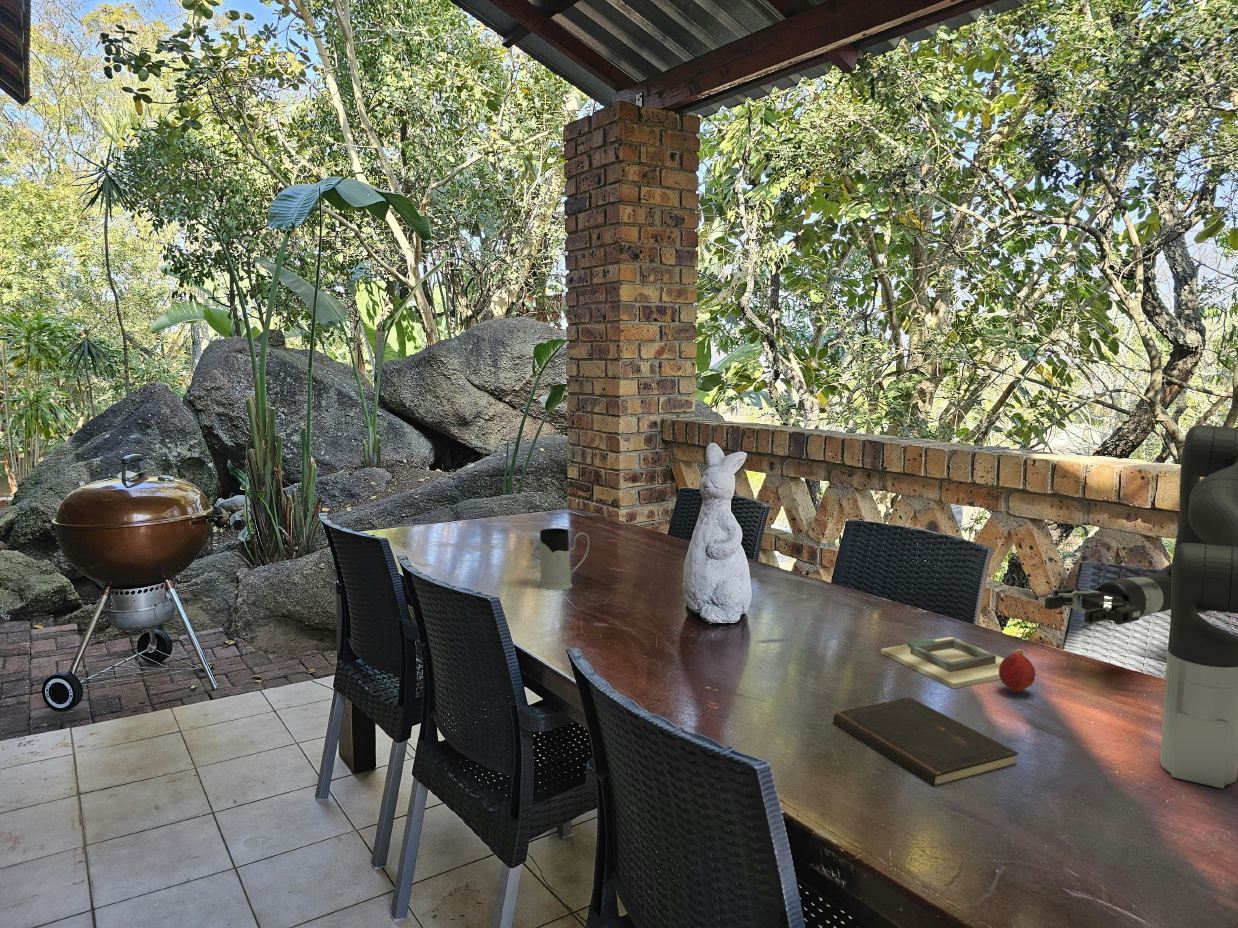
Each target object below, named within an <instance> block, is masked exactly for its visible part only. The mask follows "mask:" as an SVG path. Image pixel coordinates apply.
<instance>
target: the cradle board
mask: <svg viewBox="0 0 1238 928" xmlns="http://www.w3.org/2000/svg"><path fill="white" fill-rule="evenodd" d="M880 654H881V655H884V656H885V657H887V658H889V659H891V660H893V661H895V662H898V663H900V664H902V665H903V666H906V667H907V668H910V669H912V670H914V671H916V672H918V673H920V674H922V675H925V676H927V677H929V678H930V679H933V680H934V681H937V682H938V683H941V684H943V685H945V686H947V687H949V688H950V689H958V688H965V687H968V686H974V685H978V684H983V683H987V682H988V683H989V682H993V681H998V680H1001V678H1000V676H999V667H1000V664H1001V663H1002V661H1003V660H1004V659H1005V658H1004V657H1001V656H999V655H996V654H993V653H991V652H988V651H987V650H984V649H982V648H979V647H977V646H974V645H972V644H970V643H968V642H964V641H962V640H960V639H957V638H955V637H952V636H948V637H943V638H942V637H941V638H936V639H932V638H928V639H923V640H916V641H911V642H907V643H906V644H901V645H896V646H891V647H885V648H884V647H883V648H881V649H880Z"/></svg>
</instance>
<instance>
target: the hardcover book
mask: <svg viewBox="0 0 1238 928" xmlns="http://www.w3.org/2000/svg"><path fill="white" fill-rule="evenodd" d="M833 724H834V725H835V726H838V727H839V728H840V729H842V730H844V731H845V732H847V733H848V734H850V735H852V736H853V737H855V738H856V739H858V740H859V741H861V742H863V743H865V744H866V745H868V746H869V747H870V748H872V749H873V750H875V751H877V752H878V753H880V754H882V755H883V756H885V757H886V758H888V759H890V760H891V761H893V762H894V763H896V764H897V765H900V767H902V768H904V769H905V770H908V771H909V772H910V773H912V774H914V775H915V776H917V777H919V778H920V779H922V780H923V781H925V782H926V783H928V784H930V785H931V786H933V787H936V786H938V785H941V784H945V783H948V782H952V781H955V780H960V779H962V778H963V779H965V778H967V777H970V776H974V775H977V774H978V775H979V774H981V773H985V772H990V771H994V770H997V769H1000V768H1005V767H1008V766H1012V765H1015V759H1016V756H1019V754H1020V753H1019V752H1017V751H1015V750H1013V749H1012V748H1010V747H1008V746H1005V745H1004V744H1002V743H1000V742H998V741H996V740H994V739H992V738H991V737H988V736H986V735H984V733H983V734H982V733H981V732H979V731H977V730H974V729H972V728H970V727H969V726H967V725H965V724H963V723H961V722H959V721H957V720H955V719H953V718H951V717H949V716H948V715H946V714H943V713H942V712H940V711H938V710H936V709H934V708H932V707H930V706H928V705H926V704H924V703H922V702H920V701H918V700H916V699H914V698H912V697H910V696H908V697H904V698H899V699H894V700H889V701H885V702H880V703H875V704H870V705H866V706H862V707H861V706H860V707H856V708H853V709H852V708H851V709H848V710H843V711H837V712H835V714H834V715H833Z"/></svg>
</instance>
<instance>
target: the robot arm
mask: <svg viewBox="0 0 1238 928" xmlns="http://www.w3.org/2000/svg"><path fill="white" fill-rule="evenodd" d="M1182 446H1183V447H1182V450H1181V458H1180V459H1181V460H1180V471H1179V473H1180V474H1179V475H1180V476H1179V478H1180V479H1179V513H1178V514H1179V519H1178V526H1177V527H1178V528H1177V533H1176V538H1175V544H1174V550H1173V555H1172V559H1171V563H1169V564H1168V565H1166V566H1165V567H1163V568H1162V569H1161V570H1158V571H1157V572H1155V573H1154V574H1151V575H1145V576H1133V577H1126V578H1120V579H1114V580H1110V581H1105V582H1102V583H1101V584H1100V585H1099V586H1098V587H1097V588H1096V590H1088V591H1081V588H1080V587H1078V586H1074V587H1067V588H1066V587H1065V588H1059V589H1054V590H1052V591H1053V592H1052V596H1048V597H1046V598H1045V599H1044V608H1045V609H1046V610H1049V611H1050V610H1056V609H1061V608H1068V609H1069V608H1071V609H1073V611H1077V612H1079V611H1080V612H1084V622H1085V623H1086V624H1093V623H1099V622H1102V621H1103V622H1105V623H1111V622H1113V623H1114V624H1115V625H1118V626H1119V625H1125V624H1128V623H1132V622H1135V621H1136V622H1137V621H1140V618H1144V617H1148V616H1150V615H1152V614H1155V613H1162V612H1166V611H1167V612H1168V611H1170V624H1169V634H1168V644H1167V652H1166V653H1167V655H1166V669H1165V682H1164V696H1163V698H1164V699H1163V711H1162V726H1161V741H1160V756H1159V764H1160V766H1161V767H1162V768H1163V770H1165V771H1166V772H1168V773H1170V776H1171V778H1174V779H1178V780H1179V779H1180V780H1184V781H1188V782H1193V783H1197V784H1201V785H1206V786H1211V787H1214V788H1220V789H1224V788H1225V786H1227V785H1230V784H1231V785H1232V784H1233V783H1234V782H1236V780H1237V775H1238V636H1237V635H1236V634H1233V633H1231V632H1229V631H1227V630H1225V629H1222V628H1220V627H1218V626H1215V625H1214V624H1213V623H1210V622H1209V621H1208V620H1206V619H1205V618H1203V617H1202V616H1201V615H1200V614H1199V613H1207V612H1210V611H1212V612H1218V613H1219V612H1220V613H1228V614H1235V615H1238V427H1229V426H1218V425H1207V424H1194V425H1193V426H1191V427H1190V428H1189V429H1188V430H1187V432H1186V434H1185V438H1184V442H1183V445H1182ZM1201 478H1202V479H1201ZM1080 600H1081V601H1080ZM1078 602H1081V603H1080V604H1081V605H1079V606H1078Z"/></svg>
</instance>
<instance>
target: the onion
mask: <svg viewBox="0 0 1238 928" xmlns="http://www.w3.org/2000/svg"><path fill="white" fill-rule="evenodd" d="M1023 653H1024V652H1023V650H1022V649H1020V648H1019V649H1018V648H1017V649H1016V650H1014V651H1013V653H1010V654H1009V655H1007V656H1006V657H1005V658H1004V660H1003V661H1002V663H1001V664H1000V667H999V676H1000V678H1001V679H1000V680H1001V682H1002V684H1003V685H1004V686H1005V687H1007V688H1008V689H1009V690H1010V691H1012V692H1013V693H1015V694H1019V693H1021V692H1022V691H1023V690H1026V689H1028V688H1029V687H1031V686H1032V685H1033V684H1034V681H1035V677H1036V670H1035V667H1034V665H1033V663H1032V662H1031V661H1030V659H1029V658H1027V657H1026V656H1024V655H1023Z"/></svg>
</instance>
